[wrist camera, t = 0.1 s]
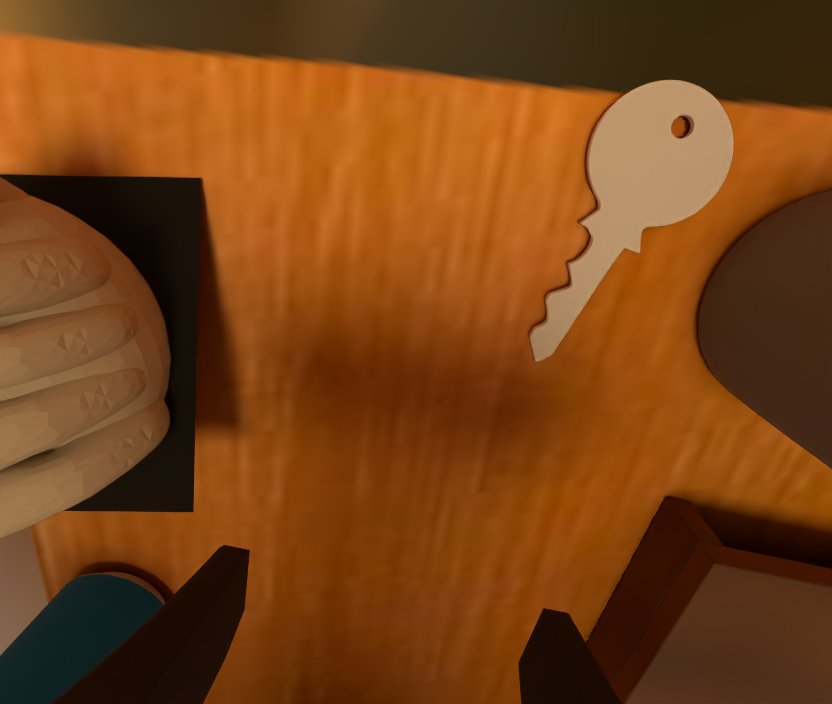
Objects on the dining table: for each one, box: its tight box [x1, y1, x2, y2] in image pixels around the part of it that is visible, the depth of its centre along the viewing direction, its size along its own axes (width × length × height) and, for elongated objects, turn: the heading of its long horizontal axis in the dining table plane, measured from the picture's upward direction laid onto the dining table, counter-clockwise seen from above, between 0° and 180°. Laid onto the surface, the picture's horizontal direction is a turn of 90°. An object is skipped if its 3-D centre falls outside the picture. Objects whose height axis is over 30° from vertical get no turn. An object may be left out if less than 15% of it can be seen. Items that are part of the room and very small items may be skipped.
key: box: [529, 80, 733, 362], centre depth 16 cm, size 11×1×5 cm
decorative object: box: [0, 175, 200, 538], centre depth 14 cm, size 13×10×10 cm
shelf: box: [587, 497, 832, 704], centre depth 22 cm, size 14×12×4 cm
